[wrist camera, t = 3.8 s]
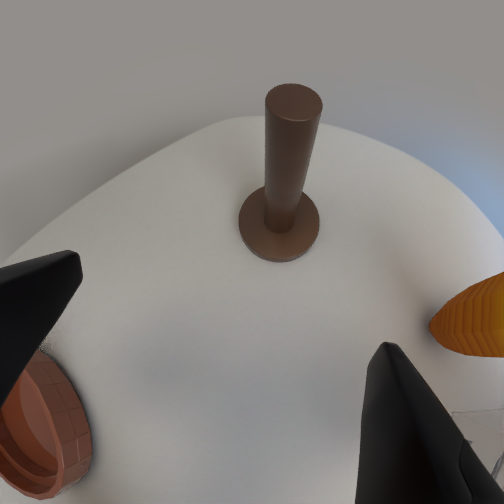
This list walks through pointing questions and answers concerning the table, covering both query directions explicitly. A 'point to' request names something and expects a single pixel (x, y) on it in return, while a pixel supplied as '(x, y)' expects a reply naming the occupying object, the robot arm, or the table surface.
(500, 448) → the grater
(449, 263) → the table surface
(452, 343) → the carrot
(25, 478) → the bowl
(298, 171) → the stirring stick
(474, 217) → the table surface
